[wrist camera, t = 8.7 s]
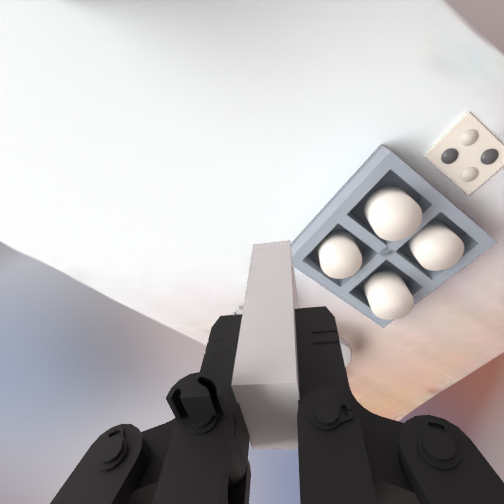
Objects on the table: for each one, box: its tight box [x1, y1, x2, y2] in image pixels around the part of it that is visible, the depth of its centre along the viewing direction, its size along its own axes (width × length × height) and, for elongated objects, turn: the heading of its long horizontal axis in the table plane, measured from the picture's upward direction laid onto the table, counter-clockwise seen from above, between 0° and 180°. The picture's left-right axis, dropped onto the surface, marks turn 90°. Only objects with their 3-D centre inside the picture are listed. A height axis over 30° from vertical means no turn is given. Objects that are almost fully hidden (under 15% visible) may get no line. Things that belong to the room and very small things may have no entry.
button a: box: [407, 220, 464, 271], centre depth 39 cm, size 5×5×4 cm
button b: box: [364, 270, 414, 320], centre depth 41 cm, size 5×5×4 cm
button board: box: [290, 145, 497, 328], centre depth 41 cm, size 18×18×4 cm
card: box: [424, 112, 504, 195], centre depth 37 cm, size 8×6×1 cm
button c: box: [364, 186, 422, 241], centre depth 36 cm, size 5×5×4 cm
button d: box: [318, 230, 362, 279], centre depth 41 cm, size 5×5×4 cm
